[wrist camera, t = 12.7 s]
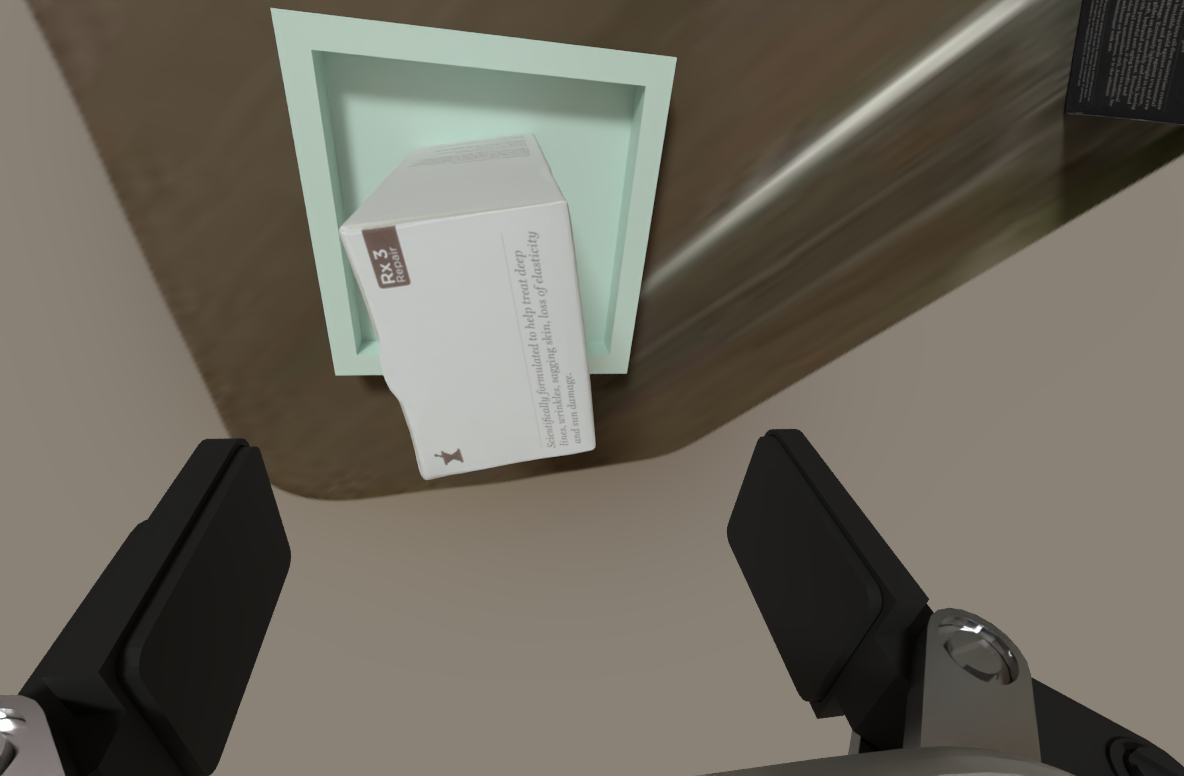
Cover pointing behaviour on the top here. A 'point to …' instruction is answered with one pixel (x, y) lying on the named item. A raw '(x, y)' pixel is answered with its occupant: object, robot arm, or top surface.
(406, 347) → the skincare box
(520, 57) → the tray
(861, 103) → the top surface
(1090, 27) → the small box
